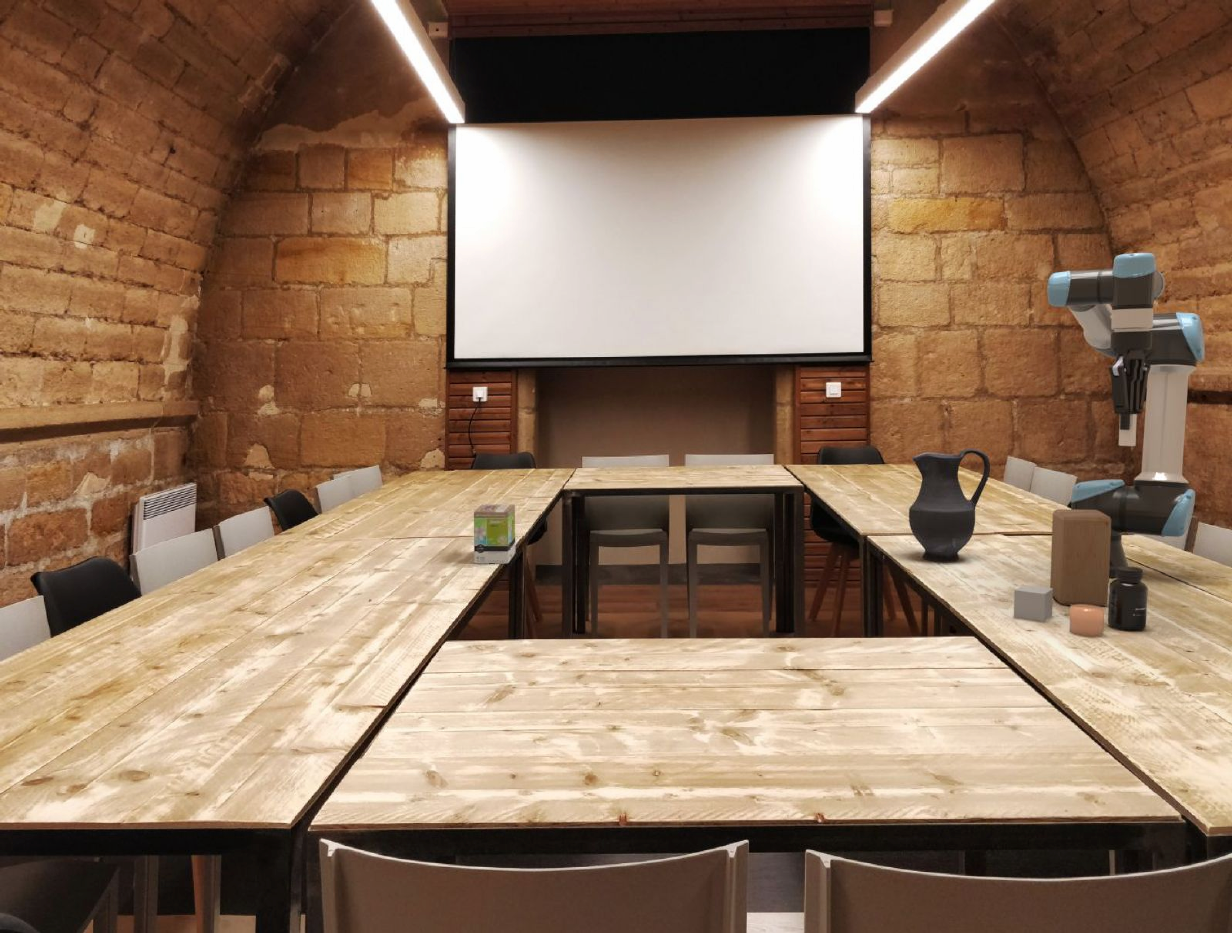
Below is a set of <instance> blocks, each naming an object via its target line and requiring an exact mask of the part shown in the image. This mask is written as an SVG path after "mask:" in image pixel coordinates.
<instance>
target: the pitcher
mask: <svg viewBox="0 0 1232 933" xmlns="http://www.w3.org/2000/svg"><path fill="white" fill-rule="evenodd" d="M969 454H974V455H976V456H977V457H980V459H981V460H982V461H983V474H982V477H981V479H980V481H979V483H978V485H977V487H976V489H975V491H974V493H973V494H972V497H971V498H970V499H967V498H966V496H965V494H964V491H963V489H962V487H961V484H960V481H959V468H960V465H961V462H962V460H963V459H964V458H965V456H967V455H969ZM912 461H913V463H914V465H915V466H916V468H917V469H918V472H919V473H920V475H921V478H922V479H921V484H920V488H919V492H918V495H917V497H916V499H915V500H914V502H913V503H912V505H911V506H909V509H908V522H909V527H910V530H911V532H912V534H913V536H914V538H915V539H916V540H917V542H918V543H919V544H920V545H921V546H922V548H923V549H924V552H923V554H922V555H921V558H922V559H924V560H927V561H931V562H938V563H939V562H940V563H941V562H942V563H949V562H951V563H953V562H958V561H959V560H960V556H959V554H958V553H959V552H960V551H961V550H962V549H963V548H964V547H965V546H966V545H967V544H968V543H969V542H970V540H971V538H972V537H973V534H974V531H975V525H976V507H977V504H978V503H979V500H980V497H981V496H982V493H983V491H984V489H985V487H986V484H987V481H988V480H989V476H990V472H991V463H990V459H989V458H988V456H987V454H986V453H984V452H983V451H981V450H979V449H977V448H967V449H963V450H962V451H960V452H959V454H954V453H953V454H952V453H936V452H924V453H920V454H918V455H915V456H913V457H912Z"/></svg>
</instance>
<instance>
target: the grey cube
mask: <svg viewBox="0 0 1232 933" xmlns="http://www.w3.org/2000/svg"><path fill="white" fill-rule="evenodd" d="M1013 594H1014V596H1013V597H1014V598H1013V618H1014V619H1021V620H1027V621H1034V622H1039V623H1040V622H1041V623H1045V622H1046V621H1048V620H1049V619H1050V618H1051V617H1053V603H1054V601H1053V598H1054V597H1053V588H1050V587H1043V586H1037V585H1029V584H1022V585H1020V586H1019V587H1017V588H1015V589H1014V593H1013Z"/></svg>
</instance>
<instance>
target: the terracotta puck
mask: <svg viewBox="0 0 1232 933" xmlns="http://www.w3.org/2000/svg"><path fill="white" fill-rule="evenodd" d="M1069 606H1070V607H1069V608H1070V609H1069V633H1070V634H1071V635H1072V634H1073V635H1076V636H1080V637H1089V638H1090V637H1091V638H1097V637H1102V636H1104V624H1105V623H1104V622H1105V608H1104V607H1103V606H1094V605H1086V604H1076V605H1069Z"/></svg>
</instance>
